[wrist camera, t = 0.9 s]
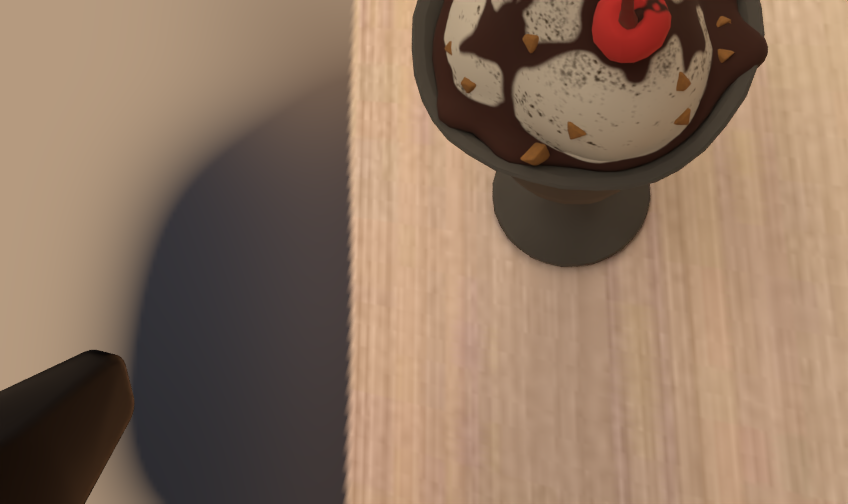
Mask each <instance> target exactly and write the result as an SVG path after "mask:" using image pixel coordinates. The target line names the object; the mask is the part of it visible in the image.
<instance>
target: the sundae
mask: <svg viewBox="0 0 848 504" xmlns="http://www.w3.org/2000/svg"><path fill="white" fill-rule="evenodd" d="M764 35H765V34H764V25H763V16H762V7H761V3H760V0H418V1H417V4H416V8H415V11H414V14H413V23H412V57H413V68H414V77H415V80H416V83H417V86H418V90H419V93H420V96H421V99H422V102H423V104H424V106H425V108H426V110H427V111H428V113H429V115H430V117H431V119H432V121H433V122H434V124H435V125H436V126H437V127H438V129H439V130H440V131H441V132H442V133H443V135H444V136H445V137H446V138H447V140H449V141H450V142H451V143H453V144H454V145H455V146H457V147H458V148H459V149H461V150H462V151H464V152H465V153H466V154H468V155H469V156H471V157H473V158H474V159H476V160H478V161H480V162H481V163H483V164H485V165H487V166H488V167H490V168H492V169H493V170H495V171H496V174H495V178H494V181H493V204H494V211H495V215H496V217H497V219H498V221H499V224H500V226H501V227H502V229H503V231H504V232H505V234H506V236H507V237H508V239H509V240H510V241H512V242H513V243H514V244H515V245H516V246H517V247H518V248H519V249H520V250H522V251H523V252H525V253H526V254H527V255H529V256H530V257H532V258H534V259H537V260H540V261H542V262H545V263H549V264H553V265H557V266H561V267H568V266H583V265H590V264H595V263H597V262H599V261H602V260H604V259H606V258H609V257H610V256H612V255H614V254H615V253H617V252H619V251H621V250H622V249H623V248H624V247H625V246H626V245H627V244H628V243H629V242H630V241H631V240H632V239H633V237H634V236H635V235H636V234H637V232H638V231H639V230H640V228H641V227H642V224H643V222H644V219H645V217H646V214H647V211H648V206H649V202H650V183H654V182H657V181H659V180H661V179H663V178H665V177H667V176H669V175H671V174H673V173H675V172H677V171H679V170H680V169H682V168H683V167H684V166H686V165H687V164H688V163H690V162H691V161H692V160H693V159H695V158H696V157H697V156H699V155H700V154H701V153H703V152H704V151H705V150H706V149H707V148H708V147H709V145H710V144H711V143H712V142H713V141H714V140H715V138H716V137H717V136H718V135H719V134H720V133H721V131H722V130H723V129H724V128H725V127H726V125H727V124H728V123H729V121H730V120H731V118H732V117H733V115H734V114H735V112H736V111H737V109H738V108H739V107H740V105H741V104H742V102H743V101H744V99H745V98H746V96H747V94H748V91H749V88H750V86H751V83H752V80H753V77H754V75H755V72H756V69H757V68H758V67H759V66H760V65H761V64H762V63H763V62H764V60H765V58H766V56H767V53H768V46H767V43H766V40H765V38H764Z"/></svg>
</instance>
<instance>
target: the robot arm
mask: <svg viewBox="0 0 848 504" xmlns="http://www.w3.org/2000/svg"><path fill="white" fill-rule="evenodd" d="M133 411H134V396H133V393H132V388H131V384H130V380H129V376H128V372H127V369H126V365H125V362H124V360H123V359H122V358H121V357H120V356H118V355H115V354H111V353H107V352H103V351H99V350H89V351H86V352H83V353H81V354H79V355H77V356H75V357H72V358H70V359H68V360H66V361H64V362H62V363H60V364H57V365H55V366H53V367H51V368H49V369H47V370H45V371H43V372H40V373H38V374H36V375H34V376H32V377H30V378H28V379H25V380H23V381H21V382H19V383H17V384H15V385H13V386H11V387H8V388H6V389H4V390H2V391H0V504H85V502H86V500H87V498H88V497H89V495H90V493H91V491H92V489H93V488H94V486H95V484H96V482H97V480H98V478H99V477H100V475H101V473H102V471H103V469H104V467H105V466H106V464H107V462H108V460H109V458H110V456H111V455H112V453H113V451H114V449H115V447H116V445H117V444H118V442H119V440H120V438H121V436H122V434H123V433H124V430H125V429H126V427H127V425H128V423H129V421H130V419H131V417H132V414H133Z"/></svg>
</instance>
